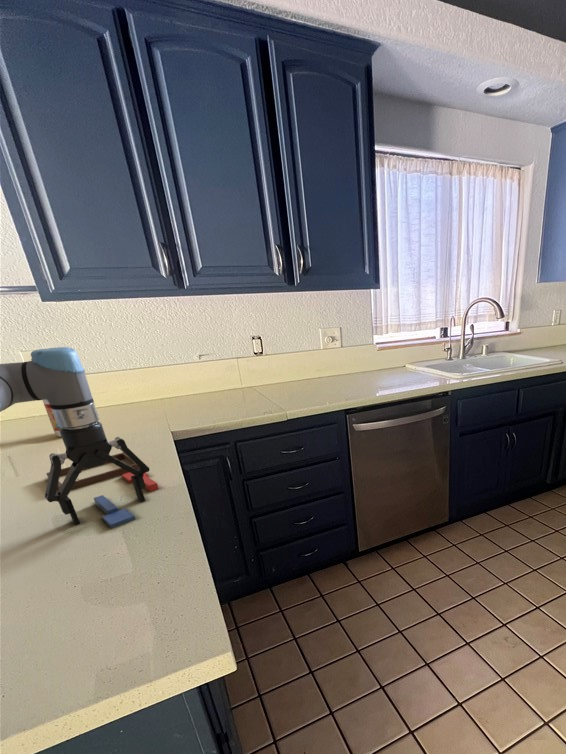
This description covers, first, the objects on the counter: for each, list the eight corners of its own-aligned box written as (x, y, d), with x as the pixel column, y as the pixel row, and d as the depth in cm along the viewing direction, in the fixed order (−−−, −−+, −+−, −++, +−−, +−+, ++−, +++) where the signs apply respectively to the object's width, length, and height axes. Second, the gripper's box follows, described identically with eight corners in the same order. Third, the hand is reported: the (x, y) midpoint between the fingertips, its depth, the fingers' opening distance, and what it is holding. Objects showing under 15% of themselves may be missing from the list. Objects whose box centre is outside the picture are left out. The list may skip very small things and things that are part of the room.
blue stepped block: (90, 509, 101) (86, 500, 100) (112, 501, 104) (109, 492, 103) (112, 531, 91) (109, 521, 90) (136, 522, 94) (133, 512, 93)
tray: (62, 495, 108) (59, 486, 107) (49, 481, 117) (46, 473, 116) (143, 470, 121) (141, 462, 120) (126, 459, 130) (123, 452, 129)
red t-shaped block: (165, 489, 109) (162, 481, 108) (145, 496, 106) (142, 487, 105) (141, 474, 119) (139, 466, 118) (122, 480, 116) (120, 471, 115)
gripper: (9, 445, 79) (51, 541, 88) (148, 413, 95) (172, 497, 104) (1, 437, 84) (42, 529, 92) (136, 408, 100) (159, 489, 109)
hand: (111, 513), depth 98 cm, fingers open, 13 cm apart
